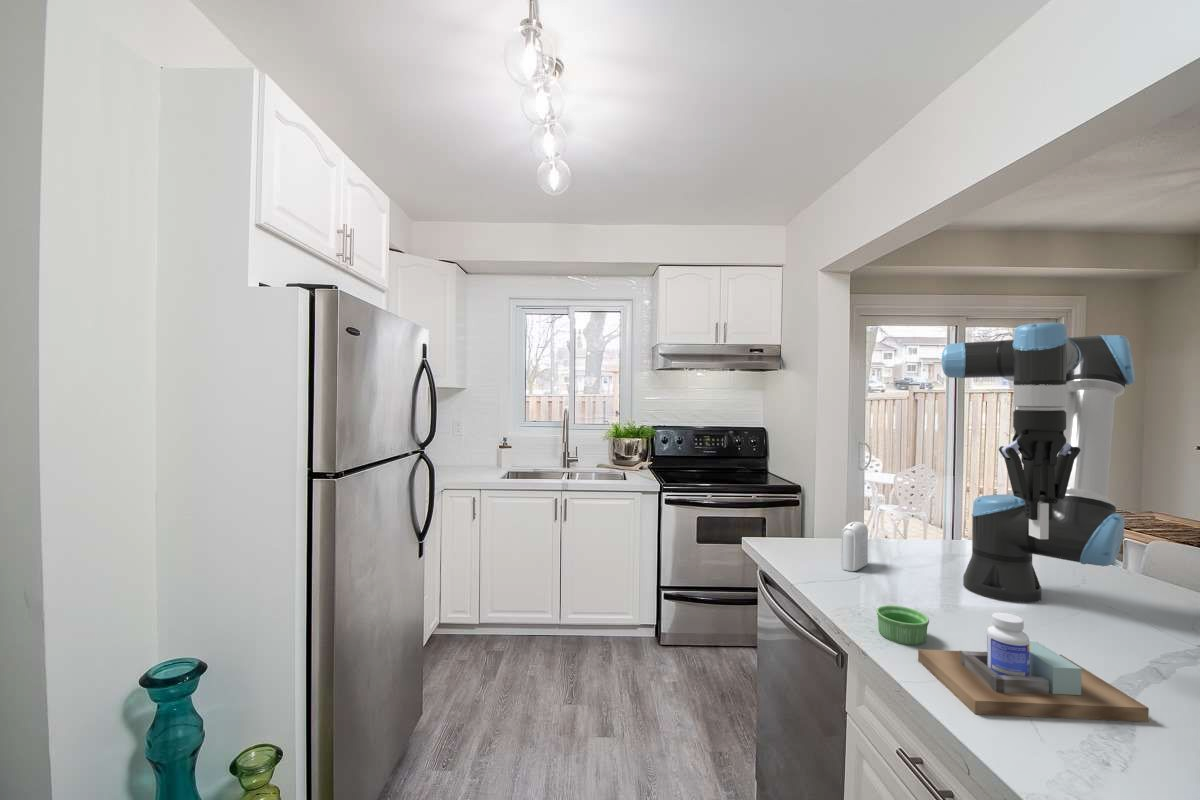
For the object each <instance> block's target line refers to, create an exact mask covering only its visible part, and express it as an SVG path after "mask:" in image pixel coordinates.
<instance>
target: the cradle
mask: <svg viewBox="0 0 1200 800" xmlns="http://www.w3.org/2000/svg"><path fill="white" fill-rule="evenodd" d="M917 650H918V651H917V653H918V655H917V656H918V657H917V661H918V662H919V663H920V664H921V665H922V666H923V667H924V668H925V669H926V670H927V671H928V672H929V673H931V674H932V675H933V676H934V677H935V678H936V679H937V680H938V681H939V682H940V683H941V684H942V685H943V686H945V688H947V689H948V691H950V693H952V694H953V695H954V696H955V697H956V698H957V699H959V701H960V702H961V703H963V704H964V706H965V707H967V708H968V710H969V711H972V713H973V714H974V715H987V716H988V715H990V716H1012V717H1033V718H1035V717H1036V718H1057V719H1077V720H1078V719H1079V720H1082V719H1083V720H1102V721H1103V720H1104V721H1123V722H1144V723H1145V722H1146V723H1147V722H1149V711H1150V708H1149V707H1148V706H1147V705H1145V704H1143V703H1141V702H1140V701H1138V700H1136V699H1134V698H1133V697H1131V696H1129V695H1128V694H1126V693H1124V692H1123V691H1122V690H1120V689H1118V688H1117V687H1115V686H1113V685H1111V684H1110V683H1108V682H1107V681H1105V680H1103V679H1102V678H1100V677H1098V676H1097V675H1095V674H1093V673H1092V672H1091V671H1089V670H1087V669H1085V668H1084V667H1082V666H1080V665H1079V664H1077V663H1076V662H1074V661H1072V660H1070V659H1069V658H1067V657H1066V656H1064V655H1062V654H1059V655H1060V656H1062V657H1063V658H1065V659H1067V660H1068V661H1070V662H1072V663H1073V664H1075V665H1076V666H1078V667H1080V668H1081V695H1067V694H1052V693H1051V692H1050V691H1049V681H1048V680H1047V679H1045V678H1044V677H1029V676H1004V675H998V674H997V673H996V672H994V671H993V670H992V669H990V668H989V667H988V666H987V651H971V650H970V651H968V650H947V649H945V650H941V649H917Z"/></svg>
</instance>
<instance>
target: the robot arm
mask: <svg viewBox="0 0 1200 800" xmlns="http://www.w3.org/2000/svg"><path fill="white" fill-rule="evenodd" d="M1130 345H1131V344H1130V341H1129V339H1128V338H1127V337H1126V336H1125V335H1122V334H1121V335H1120V334H1112V335H1111V334H1110V335H1109V334H1106V335H1104V334H1099V335H1089V336H1088V335H1087V336H1073V337H1072V336H1070V337H1069V336H1068V331H1067V325H1066V324H1064V323H1063V322H1040V323H1028V324H1023V325H1018V326H1017V327H1016V328H1015V329H1014V333H1013V339H1006V340H991V341H990V340H989V341H974V342H973V341H971V342H962V341H961V342H958V343H950V344H947V345H946V346H945V347H944V348H943V350H942V353H941V368H942V372H943V374H944V375H945V376H946V377H948V378H952V379H953V378H954V379H955V378H957V379H958V378H959V379H968V378H969V379H970V378H971V379H973V378H975V379H976V378H1002V379H1004V380H1007V381H1010V382H1013V406H1014V407H1016V408H1017V409H1014V411H1013V412H1012V413H1013V414H1012V417H1013V418H1012V421H1013V422H1012V424H1013V425H1012V427H1013V429H1014V434H1013V435H1014V436H1012V442H1010V443H1009V444H1008V445H1006V446H1004V445H1003V446H1002V445H1001V446H1000V447H999V448H998V451H999V453H1000V455H1001V456H1002V457H1003V459H1004V462H1005V466H1006V470H1007V475H1008V478H1009V482H1010V486H1011V490H1012V494H1010V493H1009V494H1004V493H1003V494H988V495H987V494H986V495H981V496H978V497H976V498H975V499H974V500H973V506H972V513H971V517H972V519H971V520H972V524H971V525H972V530H971V531H972V534H971V535H972V537H971V538H972V539H971V542H972V544H971V545H972V546H971V557H970V559H969V562H968V564H967V566H966V569H965V572H964V573H963V578H962V579H963V580H962V581H963V582H962V583H963V584H962V585H963V587H964V588H965V589H967V590H969V591H970V592H972V593H974V594H977V595H980V596H984V597H986V598H991V599H995V600H999V601H1004V602H1012V603H1025V604H1026V603H1028V604H1029V603H1037V602H1039V601H1041V600H1042V596H1043V595H1042V591H1043V590H1042V586H1041V584H1040V581H1039V579H1038V576H1037V573H1036V570H1035V568H1034V565H1033V555H1037V556H1043V557H1047V558H1053V559H1058V560H1064V561H1069V562H1074V563H1075V562H1076V563H1080V564H1081V565H1092V566H1099V567H1108V566H1110V565H1113V564H1114V563H1115V561H1116V560H1117V558H1118V556H1119V553H1120V550H1121V547H1122V543H1123V540H1124V539H1123V538H1124V535H1125V525H1126V519H1125V516H1124V515H1123V514H1120V512H1117V505H1116V504H1115V503H1113V502H1112V501H1111V500H1110V499H1109V497H1108V494H1109V493H1108V492H1109V477H1110V466H1111V455H1112V454H1111V453H1112V442H1113V441H1112V440H1113V428H1114V412H1115V403H1116V402H1115V401H1116V398H1118V397H1120V396H1122V395H1123V394H1125V391H1126V386H1130V385H1133V384H1135V383H1136V375H1135V368H1134V367H1135V366H1134V359H1133V355H1132V350H1131V346H1130ZM1063 408H1064V409H1063ZM1020 456H1021V458H1020Z"/></svg>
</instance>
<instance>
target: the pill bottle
mask: <svg viewBox="0 0 1200 800" xmlns="http://www.w3.org/2000/svg"><path fill="white" fill-rule="evenodd" d="M991 617H992V618H991V623H992V624H993V625H991V626H989V627H988V628H987V630H986V633H987V634H986V638H987V639H986V642H987V644H986V645H987V650H986V652H987V666H988V667H989V668H990V669H992V670H993V671H994V672H996V673H997V674H998V675H1004V676H1029V677H1030V661H1029V641H1030V637H1029V636H1028V635H1027V633H1025V631H1024V629H1025V628H1024V627H1025V626H1024V623H1025V622H1024V620H1023V618H1021V617H1019V616H1017V615H1015V614H1011V613H1005V612H994V613H992V615H991Z"/></svg>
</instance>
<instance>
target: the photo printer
mask: <svg viewBox="0 0 1200 800" xmlns="http://www.w3.org/2000/svg"><path fill="white" fill-rule="evenodd" d="M868 529H869V528H868V527H867V524H865V523H864V522H862V521H852V522H849V523H848V524H846V525H845V526H844V528H843V529H842V532H841V553H840V554H841V562H840V563H841V569H843V570H844V571H847V572H856V571H858V570H861V569H863V568H864V567H866V566H867V565H868V561H869V560H868V559H869V558H868V556H869V554H868V553H869V552H868V551H869V550H868V549H869V545H868V544H869V541H868V540H869V530H868Z"/></svg>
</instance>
